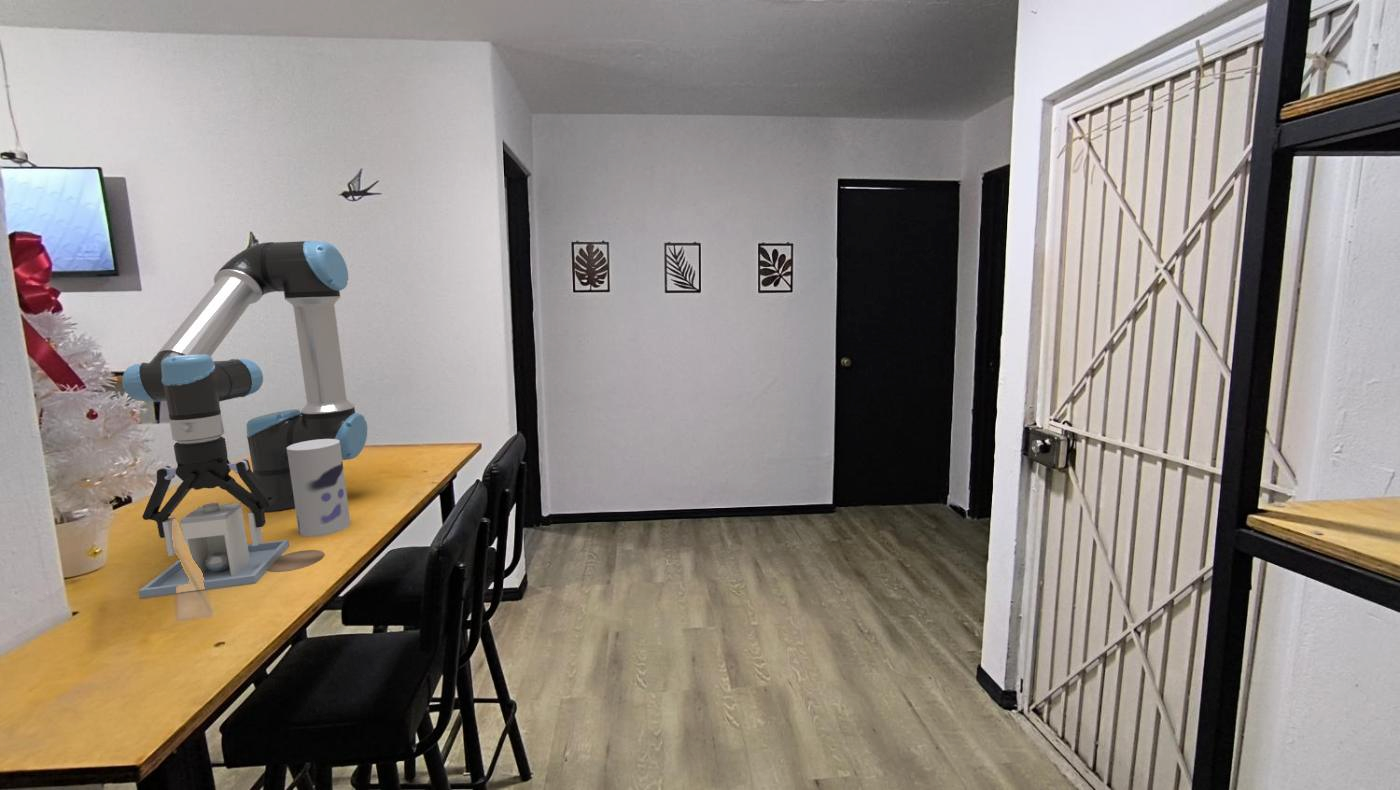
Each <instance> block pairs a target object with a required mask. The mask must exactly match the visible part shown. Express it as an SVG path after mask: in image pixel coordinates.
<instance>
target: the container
mask: <svg viewBox="0 0 1400 790" xmlns="http://www.w3.org/2000/svg"><path fill="white" fill-rule="evenodd" d="M287 454H288V461H289V468H290V475H291V482H292V488H293V495H294V502H295V507H294V509H295V515H296V522H297V529H298V534H299V536H301V537H302V536H303V537H307V538H308V537H310V538H311V537H314V538H315V537H323V536H327V535H332V534H335V533H338V532H341V531H343V530H345V529H347V528H349V527H350V525H351V516H350V507H349V501H348V493H347V485H346V477H345V471H344V464H343V463H344V462H343V461H344V460H342V454H341V446H340V441H339V440H337V439H318V440H310V441H304V442H299V443H296V444H292V445H290V446H288V447H287Z"/></svg>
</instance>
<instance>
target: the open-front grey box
mask: <svg viewBox="0 0 1400 790" xmlns="http://www.w3.org/2000/svg"><path fill="white" fill-rule="evenodd" d="M179 520H180V521H179V522H180V526H181V527H180V529H181V532H182V538H184V539H183V541H184V540H185V542H186V543H187V545H188V547H189V550H190V553H191V555H192V558H193V560H194V561H195V563H196V564H197V565H198V567H199V568H200V569H201V571H202V573H203V572H204V571H206V570H207V569H208V568H207V567H206V565H205V561H206V558H207V557H208V555H209V554H211V553H212V552H214V551H218V550H223V551H226V552H227V554H228V560H229V566H230V572H231V575H235V574H236V573H237V572H238V571H239V570H240V569H241V568H242V567H243V566H244V565H245V564H246V563H247V562H248V561H249V560H250V557H249V551H248V544H249V543H248V540H247V539H248V538H247V533H246V527H245V521H244V515H243V508H242V502H238V503H229V504H228V503H226V504H219V503H218V502H212V503H211V502H210V503H206V504H204V505H202V506H199V507H197V508H196V509H194V510H193V511H190V513H188V514H186V515H185V516H184V517H182V518H180V519H179Z"/></svg>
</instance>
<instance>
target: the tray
mask: <svg viewBox="0 0 1400 790" xmlns="http://www.w3.org/2000/svg"><path fill="white" fill-rule="evenodd" d="M247 544H248V551H249V557H250V560H249V561H248V562H247V563H246V564H245V565H244V566H243V567H242V568H241V569H240V570H239V571H238V572H237V573H236V574H235V575H231V572H230V566H229V567H228V568H227V569H225V570H223V571H220V572H213V571H210V570H209V569H207V570H206V571H204V572H203V577H204V581H203V583H204V587H205V590H204V591H208V590H215V589H222V588H230V587H231V588H232V587H237V586H245V585H255V584H257V583H258V582H259V580H260V579H261V578H262V577H263V576H264V575H265V574H266V573H267V572H268V571H267V570H268V569H269V568H270V567H271V566H272V565H273V564H274V563H275V561H276V560H277V559H278V558H279V557H280V556H283V555H284V553H285V552H286V551H287V550H288V548H289V547H290V539H283V540H273V541H266V542H261V543H260V544H259V545H257V546H253V544H252V543H251V544H250V543H247ZM188 582H189V578H188V576H187V574H186V573H185V571H184V569H183V567H182V565H181V562H180V561H179V559H178V560H176V561H175V562H174V563H173V564H171V565H170V566H168V568H166V569H165V570H163V571H162V572H161V573H160V574H158V575H157V576H155V578H153V579H152V580H150V582H148V583H147V584H146V585H145V586H143V587H142V588H140V589H139V590H138V593H139V598H140V600H141V599H147V598H154V597H163V596H169V595H171V596H172V595H177V594H176V587H177V586H179V585H184V584H190V583H191V582H190V583H188Z"/></svg>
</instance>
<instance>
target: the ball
mask: <svg viewBox="0 0 1400 790" xmlns="http://www.w3.org/2000/svg"><path fill="white" fill-rule="evenodd" d="M205 565H206V567H207V568H208V569H209V570H210V571H213V572H220V571H223V570H225V569H227V568H228V567H229V560H228V554H227V552H226V551H223V550H218V551H214V552H212V553H211V554H209V555H208V557H207V558H206V561H205Z"/></svg>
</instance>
